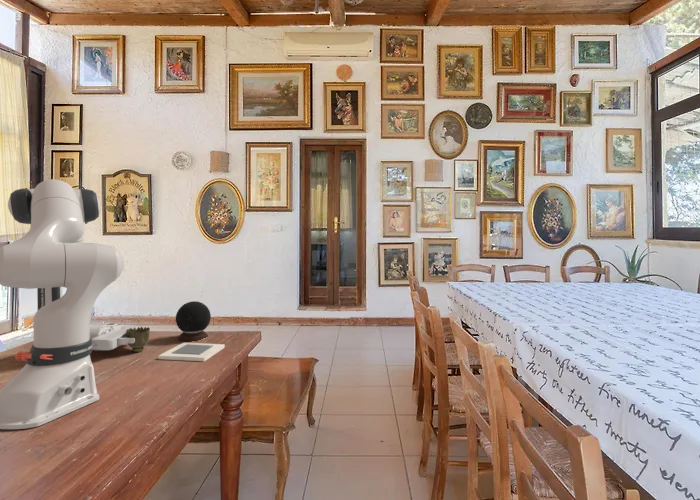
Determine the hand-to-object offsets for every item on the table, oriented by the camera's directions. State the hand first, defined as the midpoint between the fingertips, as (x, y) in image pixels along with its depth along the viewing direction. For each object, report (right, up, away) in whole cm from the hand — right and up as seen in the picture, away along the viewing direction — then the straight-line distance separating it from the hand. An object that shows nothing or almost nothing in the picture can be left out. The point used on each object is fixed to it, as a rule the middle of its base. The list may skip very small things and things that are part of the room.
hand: (140, 337), depth 132 cm
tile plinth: (+19, -5, -1) cm, 20 cm away
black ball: (+11, -5, +19) cm, 22 cm away
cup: (-1, -5, 0) cm, 5 cm away
